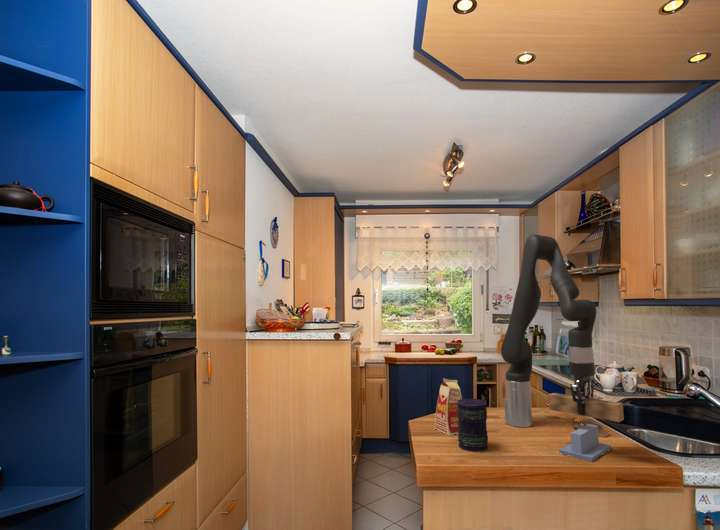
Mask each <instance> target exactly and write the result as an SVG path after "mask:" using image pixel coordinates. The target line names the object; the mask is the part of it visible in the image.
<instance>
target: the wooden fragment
mask: <svg viewBox="0 0 720 530" xmlns="http://www.w3.org/2000/svg"><path fill="white" fill-rule="evenodd" d="M579 421H580V422H579ZM579 421H575V420H573V429H576V430H578V429H579V428H581V427H583V426H585V425H587V424H591V425H597V426H598V437H604V438H606V436H607V437H610V436H612V433H609V432H607V431H605V429H602V428H603V426H602V425H601V424H598V423H596V422H594V421H591V420H588V419H587V420H586V419H582V421H581V420H579ZM581 423H582V424H584V425H583V426H581V425H580V424H581Z"/></svg>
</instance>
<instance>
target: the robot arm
mask: <svg viewBox="0 0 720 530" xmlns="http://www.w3.org/2000/svg"><path fill="white" fill-rule="evenodd" d="M521 260H522V261H521V266H520V274H519V277H518V281H517V282H518V283H517V287H516V291H515V293H514V294H515V295H514V299H513V304H512V309H511V313H510V317H509V321H508V325H507V330H506V333H505V335H504V338H503V341H502V343H501V348H500V354H501V357H502V359H503V361H504V362H505V363H507V364H510V365H509V368H508V369H507V371H506V372H505V389H506V390H505V391H506V392H505V393H506V398H504V419H505V420H504V423H505V424H508V425H509V426H512V427H518V428H528V427H532V426H533V414H532V413H533V412H532V411H533V410H532V388H531V385H532V384H531V376H532V372H533V352H532V351H533V350H532V347H531V344H530V342H529V341H527V340H525V339H524V338H525V335H526V332H527V330H528V327H529V326H530V325H531V323H532V321H533V319H534V318H535V317H536V314H537V312H538V310H539V307H540V303H541V297H542V293H541V292H542V291H541V288H540V284H539V281H538V279H537V275H536V267H537V260H540V261H541V260H542V261H546V262H547V263H548V265H549V266H550V267H551V272H550V277H549V279H550V283H551V286H552V287H551V288H553V291H554V292H555V293H556V296H557V297H558V303H559V307H560V313H561V316H562V318H564V319H565V320H566V321H569V322H579V324H578V326H576V327H574V328H570V329H569V330H568V332H567V333H568V334H567V336H568V337H567V338H568V351H567V352H568V354H567V355H568V367H569V368H568V369H569V370H568V372H569V374H570V375H571V376H573V377H574V380H573V384H572V383H571V384H570V387H569V388H570V392H571V396H572V397H573V401H574V402H576V403H577V413H578V414H579V415H578V416H582V415H585V404H584V403H585V398H591V399H594V393H595V391H594V390H595V380H594V379H591V377H594V376H595V375H596V373H595V372H596V369H595V367H596V366H595V353H594V349H593V330H594V326H595V322H596V317H597V307H596V305H595V303H594V302H593V301H592V300H590V299H577V298H578V297H579V295H580V290H579V287H578V285H577V284H576V282H575V281H574V279H573V277H572V276H571V274H570V272H569V270H568V268H567V265H566V262H565V260H564V256H563V254H562V251H561V248H560V246H559V244H558V241H557V240H556V239H555V238H554V237H551V236H547V235H543V234H542V235H540V234H530V235H529V236H528V237H527V238H526V239H525V243H524V247H523V252H522V259H521ZM575 396H576V397H575Z"/></svg>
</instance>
